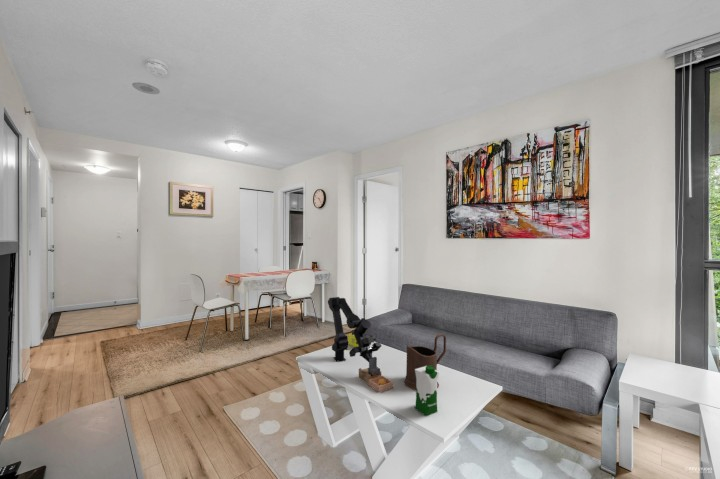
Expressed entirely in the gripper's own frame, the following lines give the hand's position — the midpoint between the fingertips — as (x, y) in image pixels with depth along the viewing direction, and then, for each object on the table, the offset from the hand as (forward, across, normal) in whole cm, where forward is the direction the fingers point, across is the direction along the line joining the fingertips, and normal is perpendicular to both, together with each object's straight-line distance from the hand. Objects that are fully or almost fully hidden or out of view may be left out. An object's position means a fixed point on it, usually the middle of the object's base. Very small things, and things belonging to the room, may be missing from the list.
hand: (371, 363), depth 170 cm
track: (+5, 0, +8) cm, 9 cm away
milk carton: (+33, +4, -20) cm, 38 cm away
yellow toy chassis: (-27, +22, +41) cm, 54 cm away
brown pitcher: (+19, +23, -6) cm, 31 cm away
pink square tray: (+12, 0, +1) cm, 12 cm away
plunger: (+5, 0, +2) cm, 5 cm away
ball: (+11, 0, -2) cm, 11 cm away
